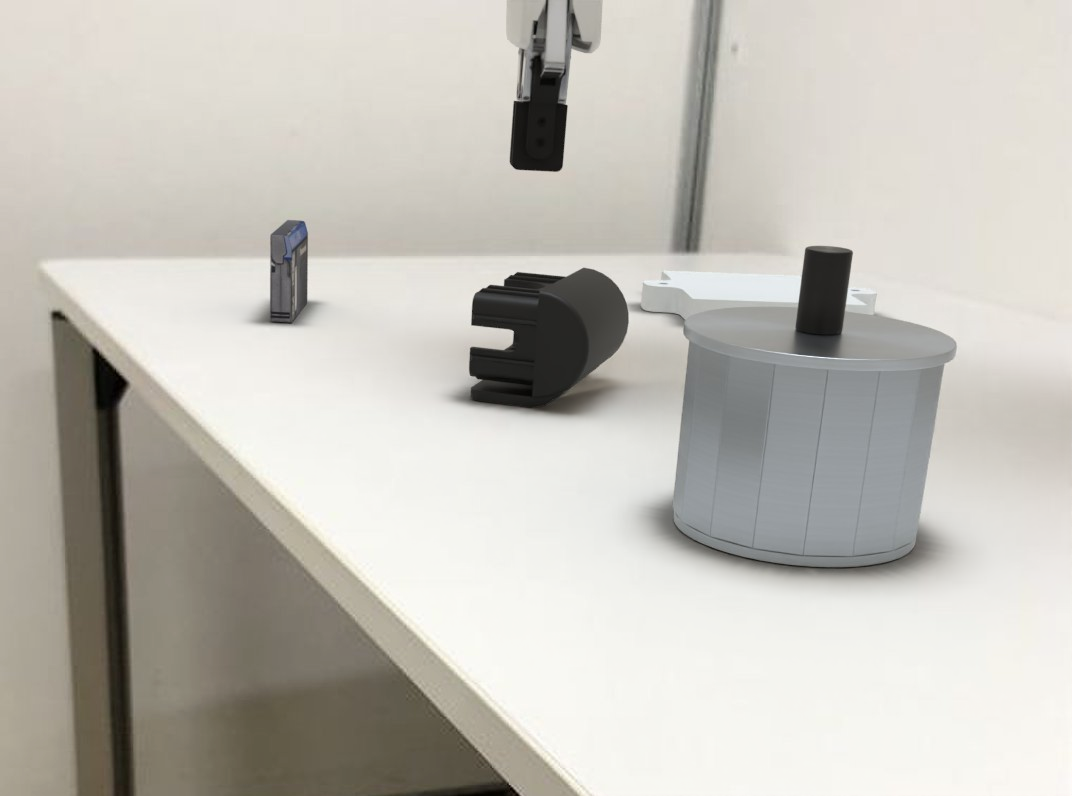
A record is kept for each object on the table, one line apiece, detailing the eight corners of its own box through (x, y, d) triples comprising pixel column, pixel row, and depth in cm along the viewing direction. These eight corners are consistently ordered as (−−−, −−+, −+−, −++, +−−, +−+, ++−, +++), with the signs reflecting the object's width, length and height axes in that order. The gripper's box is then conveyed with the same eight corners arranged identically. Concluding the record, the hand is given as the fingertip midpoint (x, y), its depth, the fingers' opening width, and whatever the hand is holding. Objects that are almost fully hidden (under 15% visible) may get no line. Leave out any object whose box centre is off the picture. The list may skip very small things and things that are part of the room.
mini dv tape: (291, 323, 113) (292, 235, 111) (270, 322, 113) (270, 234, 111) (307, 302, 121) (308, 220, 119) (287, 301, 121) (287, 219, 119)
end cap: (583, 416, 92) (592, 296, 89) (464, 401, 94) (470, 283, 91) (624, 381, 100) (634, 271, 98) (515, 369, 102) (521, 260, 100)
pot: (871, 496, 79) (897, 322, 76) (950, 570, 69) (984, 373, 66) (653, 491, 78) (670, 315, 75) (700, 565, 68) (722, 365, 65)
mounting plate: (847, 301, 132) (850, 277, 131) (896, 332, 120) (900, 306, 119) (628, 293, 131) (630, 269, 130) (656, 324, 119) (658, 297, 118)
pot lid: (901, 333, 76) (916, 234, 75) (994, 390, 66) (1014, 275, 64) (659, 326, 76) (668, 225, 74) (713, 382, 65) (726, 266, 63)
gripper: (645, -159, 88) (613, 186, 95) (603, -141, 102) (577, 160, 109) (509, -168, 88) (486, 180, 95) (485, -148, 102) (467, 154, 109)
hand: (535, 168), depth 102 cm, fingers closed
